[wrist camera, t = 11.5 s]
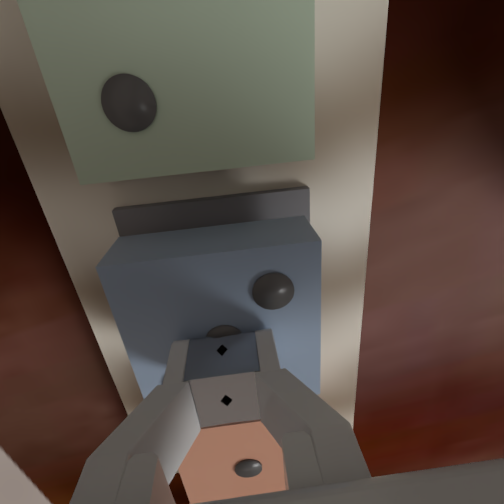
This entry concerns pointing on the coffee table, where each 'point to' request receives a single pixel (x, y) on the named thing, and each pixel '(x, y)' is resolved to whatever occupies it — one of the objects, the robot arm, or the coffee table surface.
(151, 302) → the button slate
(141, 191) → the button board
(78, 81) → the button sage
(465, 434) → the coffee table surface
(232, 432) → the button terracotta
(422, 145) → the coffee table surface
